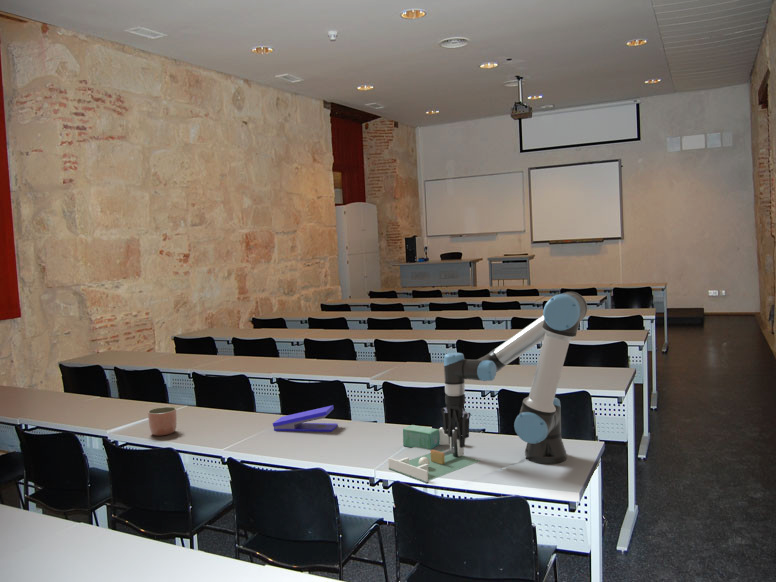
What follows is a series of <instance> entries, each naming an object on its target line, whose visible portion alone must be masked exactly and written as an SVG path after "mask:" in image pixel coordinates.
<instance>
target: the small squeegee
mask: <svg viewBox="0 0 776 582" xmlns="http://www.w3.org/2000/svg"><path fill="white" fill-rule="evenodd" d="M457 438H459V436H458V430H457V427H455V428H454V429H452V445H453V448H451V449H450V448H449V449H444V450H445V451H442V452H439V451H438V450H436V449H430V453H431V461H433V462H436V463H439V464H442V465H443V464H445V458H444V456H446V455H449V454H452V453H453V456H455V457H459V456H458V451H457Z"/></svg>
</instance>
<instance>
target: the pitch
mask: <svg viewBox="0 0 776 582" xmlns="http://www.w3.org/2000/svg"><path fill="white" fill-rule="evenodd" d="M445 450H446V449H443V448H442V449H438V450H437V451H439V452H442V451H445ZM422 457H426V458H428V459H429V462H430V464H429V466H428V464H424V465H421V466H419V459H420V458H422ZM444 458H445V464H443V465H442V464H439V463H436V462H433V461H431V452H430V453H427V454H426V453H425V454H424V455H421V456H418V457H415V458H412V459H410V457H407V456H406V457H404V458H401V459H394V458H392V457H388V459H387V461H388V470H389V471H391V472H395V473H396V474H400V475H403V476H406V477H409V478H411V479H414V480H416V481H419V482H421V483H425V484H430V482H429V481H432V480H434V479H436V478H440V477H442V476H445V475H447V474H450V473H452V472H455V471H457V470H458V471H459V470H460V469H463V468H465V467H468V466H470V465H473V464H477V463H478V462H481V460H480V459H475V458H473V457H469V456H466V455H462V456H459V457H455V456H453V454H449V455H446V456H444Z"/></svg>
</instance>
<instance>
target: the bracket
mask: <svg viewBox="0 0 776 582" xmlns="http://www.w3.org/2000/svg"><path fill="white" fill-rule="evenodd" d="M438 429H439V433H440V444H439V445H440V446H442V445H443V446H450V444H449V436H448V435H447V434H445V433H444V426H443V427H440V428H438Z"/></svg>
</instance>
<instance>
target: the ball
mask: <svg viewBox="0 0 776 582" xmlns="http://www.w3.org/2000/svg"><path fill="white" fill-rule="evenodd" d="M424 464H428V466H429V464H430V462H429V459H428V458H426V457H422V458H420V459H419V466H421V465H424Z"/></svg>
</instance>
